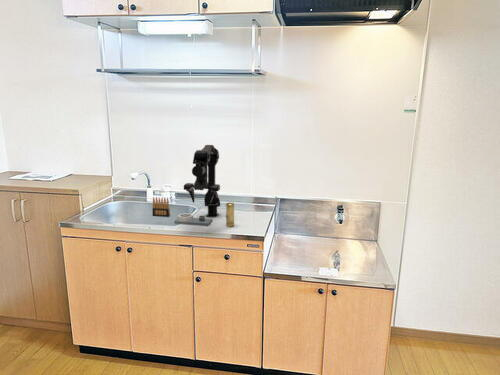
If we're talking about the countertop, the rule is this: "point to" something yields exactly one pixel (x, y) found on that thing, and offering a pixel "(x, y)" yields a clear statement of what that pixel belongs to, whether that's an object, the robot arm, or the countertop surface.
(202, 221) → the grey flat piece
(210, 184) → the robot arm
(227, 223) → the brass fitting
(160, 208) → the ammunition clip
